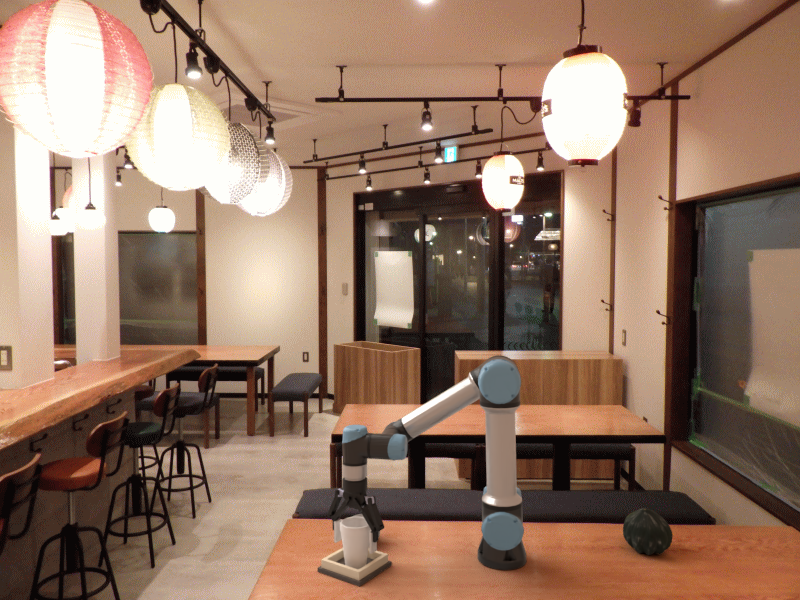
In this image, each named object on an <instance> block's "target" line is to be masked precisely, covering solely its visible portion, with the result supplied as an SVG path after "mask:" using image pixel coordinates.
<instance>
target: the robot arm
mask: <svg viewBox="0 0 800 600" xmlns="http://www.w3.org/2000/svg"><path fill="white" fill-rule="evenodd" d="M521 386H522V378H521V374H520V372H519V368H518V366H517V364H516V363H515V361H514V360H512V358H510V357H508V356H506V355H497V354H496V355H493V356H490V357H489V358H487V359H485V361H484V362H482V363H481V364H479V366H477V367H476V368H474V369H473V370H471V371H469V373H468V376H467V377H466V378H464V379H463V380H461V381H460V382H457V383H456V384H454V385H453V386H451V387H449V388H447V390H445V391H443V392H441V393H440V394H438V395H437V396H435V397H433V398H432V399H430V400H428V401H427V402H425V403H423V404H421V405H420V406H418V407H417V408H415V409H413V410H412V411H410V412H409V413H407V414H405V415H404V416H402V417H401V418H399V419H397V420H395V421H392V422H390V423H388V424H387V425H386V426H385V427H384V428H383V431H382V432H381V433H372V432H369V430H368V427H367V426H366V425H363V424H349V425H346V426H345V427H343V429H342V441H341V443H342V444H341V445H342V446H341V447H342V448H341V449H342V465H341V466H342V467H341V469H342V470H341V472H342V479H341V480H342V487H340V488H337V489H335V490H334V498H333V500H332V502H331V504H330V506H329V509H328V511H327V514H326V516H327V518H330V520H331V523H332V531H333V543H336V544H337V543H339V542H340V541H341V542H342V537H341V531H340V522H341V521H342V520H343V519H341V517H342V515H343V514H344V513H345V511H346V510H347V509H348V508H350V509H354V510H358V512H359V513H360V514H362V515H363V517H364V518H365V520H366V522H367V524H368V525H369V527H370V529H371V531H369V547H368V548H369V553H370V554H372V553H374V552H375V551H378V546H377V545H378V543H377V542H379V540H380V539H379V538H380V536H379V531H380V532H381V531H382V530H384V529H385V524H384V522H383V520H382V516H381V514H380V511H379V508H378V505H377V501H376V500H377V499H376V496H375V495H372V496H368V495H367V490H368V478H367V477H368V459H369V460H370V459H371V460H385V461H386V460H387V461H388V460H390V461H403V460H405V459H406V458H407V456H408V455H407V454H408V443H409V442H410V441H412V440H414V439H415V438H416V437H419V436H420V435H421V434H423V433H425V432H427V431H428V430H430V429H433V427H435V426H437V425H438V424H440V423H442V422H443V421H446V420H447V419H448V418H450V417H452V416H454V415H455V414H456V413H459V412H461V411H462V410H464V409H465V408H467V407H469V406H470V405H473V403H475V402H477V401H478V400H479V406H480V407H481V409H483V411H484V413H485V414H484V416H485V417H484V418H485V419H484V421H485V422H484V423H485V462H486V464H485V465H486V466H485V467H486V486H485V487H483V493H482V497H481V515H482V516H481V522H482V523H481V525H480V527H481V529H480V530H481V534H482V537H481V539H480V542H479V545H478V549H477V560H478V562H479V563H480V564H482V565H483V566H485V567H488V568H491V569H495V570H502V571H509V570H510V571H511V570H515V569H520V568H522V567H523V566H525V565H526V563H527V551H526V548H525V545H524V542H523V536H524V534H525V528H524V524H523V523H524V522H523V521H524V519H523V498H522V497H523V495H522V491H521V488H519V487H518V486H517V443H516V441H517V440H516V434H517V433H516V430H517V429H516V412H517V410H518V409H519V408H520V407H521ZM342 498H344V500H343V501H342ZM341 501H342V503H341ZM340 503H341V505H340ZM339 505H340V506H339Z"/></svg>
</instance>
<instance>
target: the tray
mask: <svg viewBox="0 0 800 600" xmlns="http://www.w3.org/2000/svg"><path fill="white" fill-rule="evenodd" d="M320 562H321V563H320V566H318V567H317V572H318V573H320V574H323V575H326V576H329V577H331V578H335V579H337V580H341V581H342V582H346V583H348V584H351V585H354V586H357V587H361V586H363V585H365V584H366V583H367V582H369V581H370V580H372V579H374V578H375V577H376V576H378V575H380V574H381V573H382V572H384V571H386V570H387V569H389V568H390V567H392V566H393V562H392V560H389V554H388V553H386V552H382V551H380V550H377V551H375V552H374V553H372V554H370V553H369V547H368V555H367V563H366V565H365V566H363V567H362V568H360V569H355V568H352V567H349V566H346V565H345V559H344V552H343V547H341V548H340V549H337V550H336V551H334V552H332V553H331V554H329V555H327V556H325V557H323V558H322V559H321V560H320Z"/></svg>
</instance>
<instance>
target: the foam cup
mask: <svg viewBox="0 0 800 600" xmlns="http://www.w3.org/2000/svg"><path fill="white" fill-rule="evenodd" d="M340 531H341V537H342V540H341V543H342V548H343V552H344V559H345V565H346V566H349V567H352V568H355V569H360V568H362V567H363V566H365V565H366V563H367V555H368V548H369V531H371V529H370V527H369V525H368V524H367V522H366V520H365V518H364V517H352V516H350V517H345V518H344V519H342V521H341V522H340Z"/></svg>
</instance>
